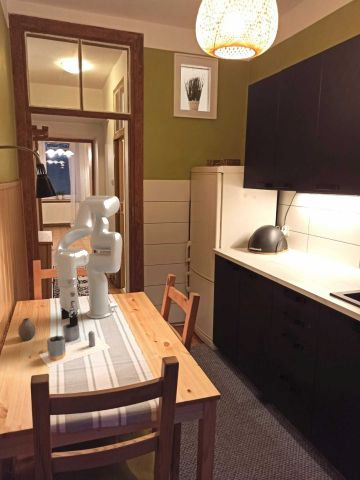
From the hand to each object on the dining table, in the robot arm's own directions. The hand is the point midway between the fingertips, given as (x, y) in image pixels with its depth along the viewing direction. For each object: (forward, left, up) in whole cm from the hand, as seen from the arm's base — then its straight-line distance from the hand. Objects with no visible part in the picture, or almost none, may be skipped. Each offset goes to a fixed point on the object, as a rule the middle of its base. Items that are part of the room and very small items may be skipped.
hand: (69, 322), depth 145 cm
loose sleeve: (-1, -1, -9) cm, 9 cm away
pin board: (+2, +11, -9) cm, 15 cm away
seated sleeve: (+9, +11, -7) cm, 17 cm away
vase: (+13, -16, -9) cm, 23 cm away
